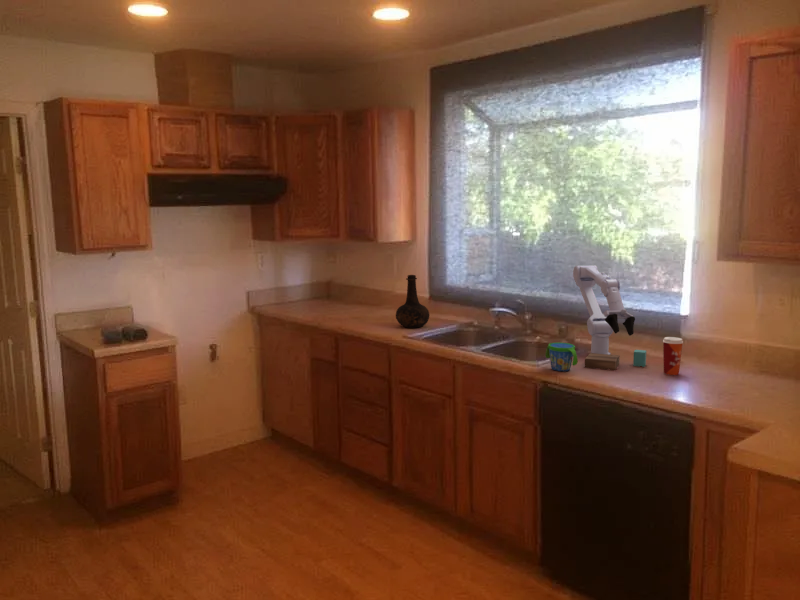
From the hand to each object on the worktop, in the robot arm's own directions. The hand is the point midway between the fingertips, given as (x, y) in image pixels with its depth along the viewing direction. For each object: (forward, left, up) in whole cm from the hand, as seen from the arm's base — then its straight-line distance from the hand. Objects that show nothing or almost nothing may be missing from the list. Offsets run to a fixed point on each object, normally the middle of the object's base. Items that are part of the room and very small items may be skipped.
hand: (624, 333), depth 287 cm
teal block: (-7, +6, -14) cm, 17 cm away
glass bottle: (-48, -115, -14) cm, 126 cm away
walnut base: (0, -8, -15) cm, 17 cm away
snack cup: (+14, -22, -14) cm, 30 cm away
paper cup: (+2, +19, -14) cm, 24 cm away
